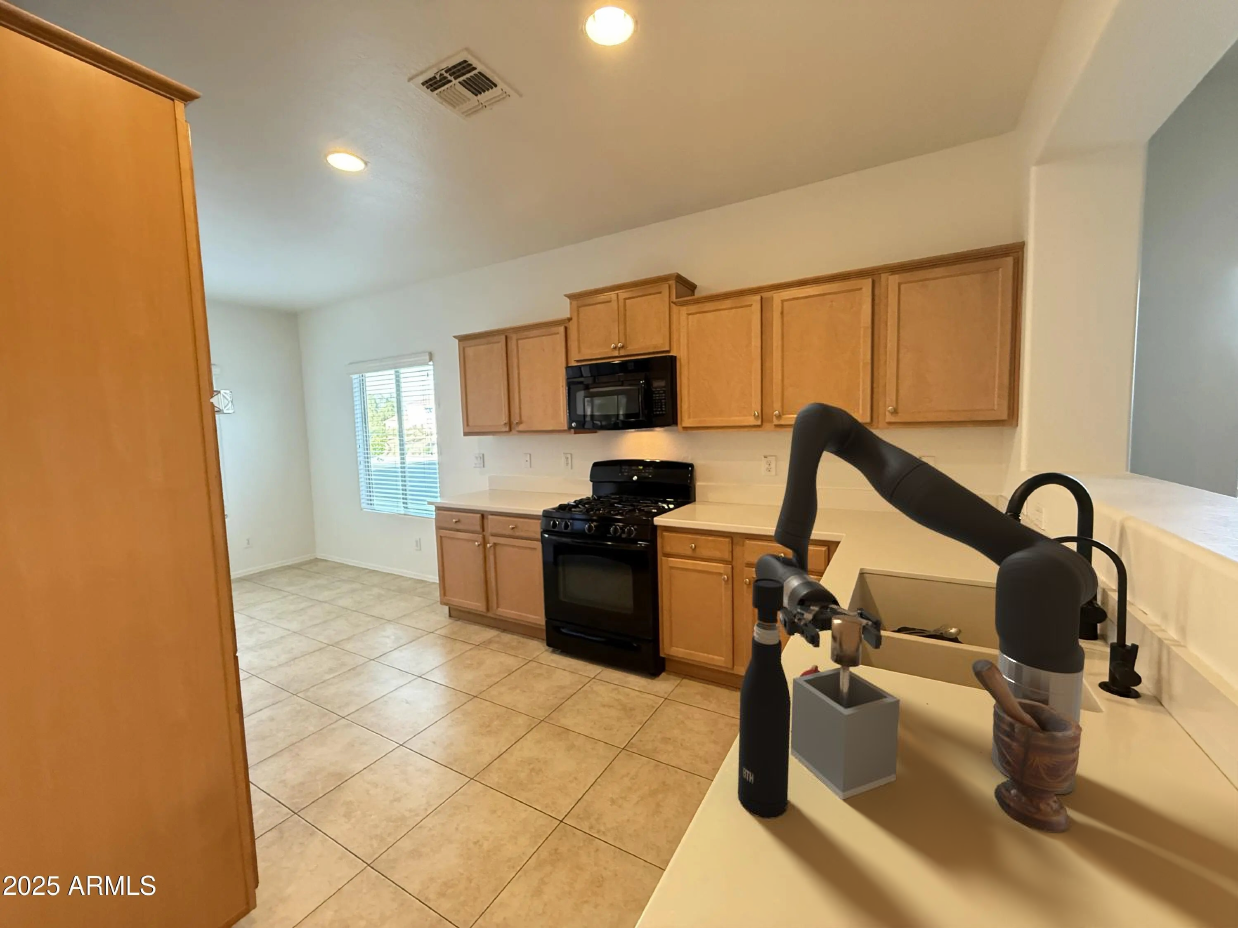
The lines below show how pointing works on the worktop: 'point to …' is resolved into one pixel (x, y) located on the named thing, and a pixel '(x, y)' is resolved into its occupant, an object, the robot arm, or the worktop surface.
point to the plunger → (846, 650)
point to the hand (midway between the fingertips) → (847, 641)
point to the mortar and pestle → (1031, 753)
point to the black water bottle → (765, 711)
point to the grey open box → (845, 732)
